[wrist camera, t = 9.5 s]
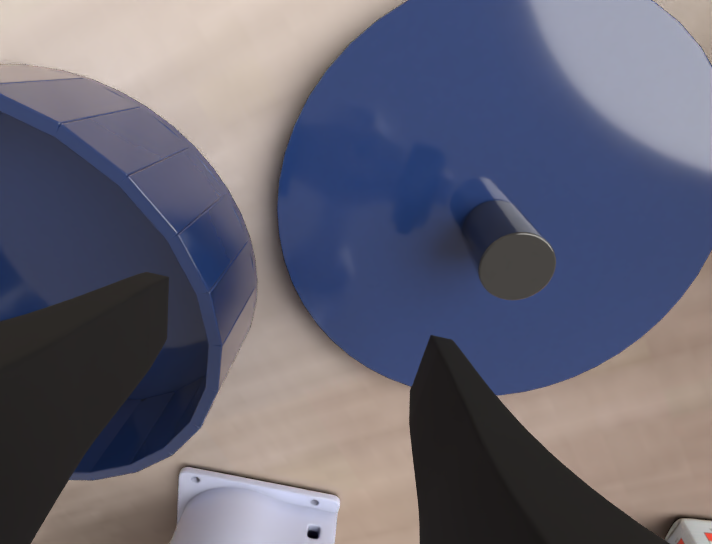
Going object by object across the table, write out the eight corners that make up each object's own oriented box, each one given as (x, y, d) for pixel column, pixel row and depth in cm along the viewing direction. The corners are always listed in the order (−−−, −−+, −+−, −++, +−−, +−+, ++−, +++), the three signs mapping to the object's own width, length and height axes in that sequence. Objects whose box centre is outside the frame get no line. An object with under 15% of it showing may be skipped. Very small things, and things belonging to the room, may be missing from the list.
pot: (279, 119, 16) (239, 143, 12) (241, 424, 24) (207, 510, 19) (-161, 18, 16) (-379, 3, 11) (-61, 364, 23) (-169, 439, 18)
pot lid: (819, 39, 14) (991, 32, 10) (590, 410, 22) (637, 490, 18) (320, -86, 13) (293, -147, 9) (261, 342, 21) (232, 409, 17)
